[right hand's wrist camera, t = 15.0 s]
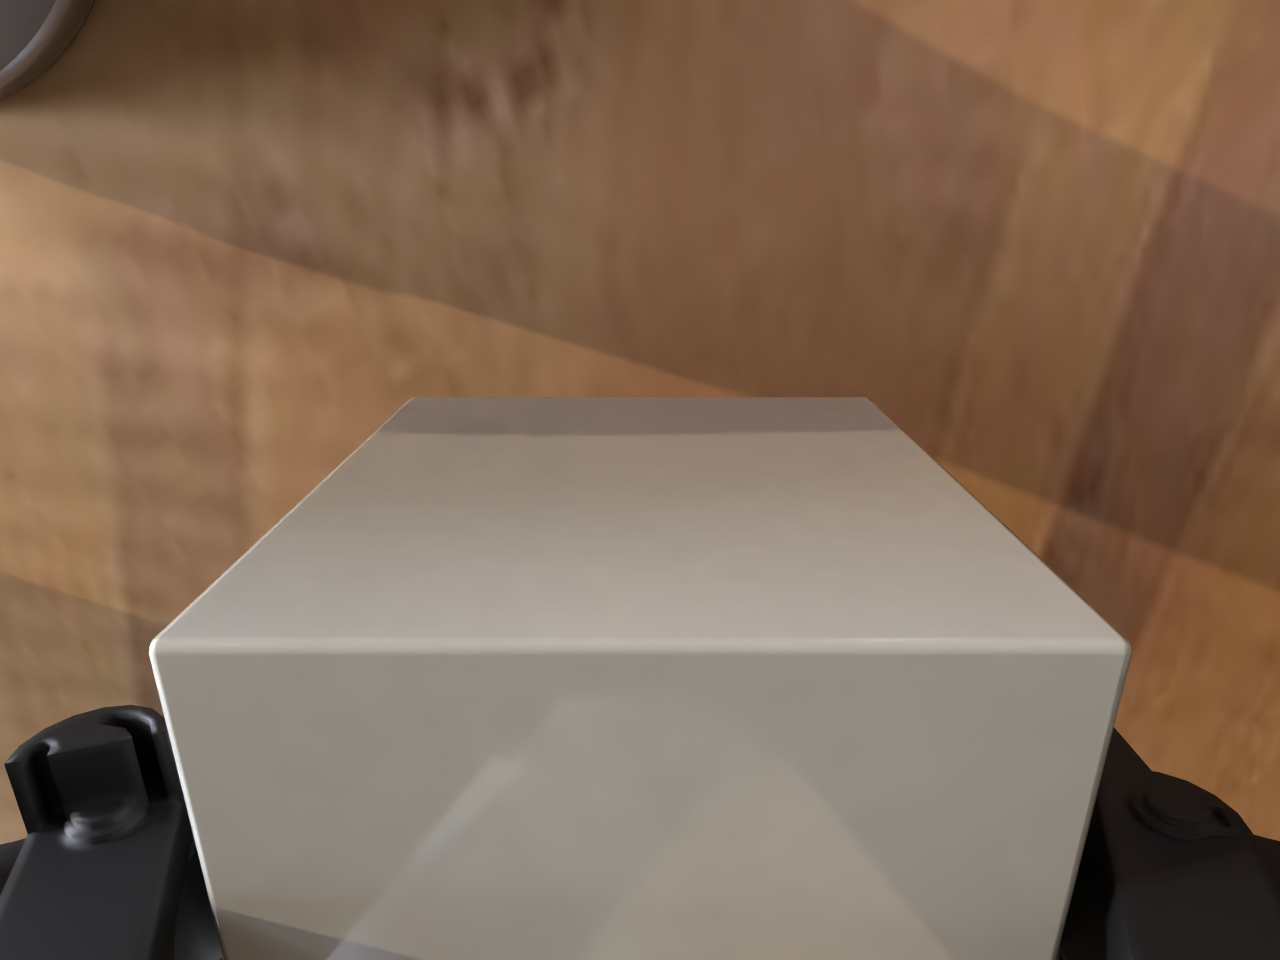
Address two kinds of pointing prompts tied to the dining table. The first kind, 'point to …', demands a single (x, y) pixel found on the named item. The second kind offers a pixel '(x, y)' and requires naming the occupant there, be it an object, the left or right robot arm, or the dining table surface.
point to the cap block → (640, 697)
